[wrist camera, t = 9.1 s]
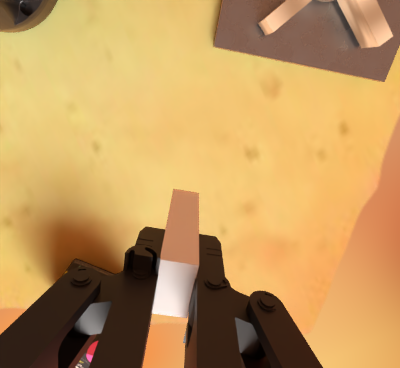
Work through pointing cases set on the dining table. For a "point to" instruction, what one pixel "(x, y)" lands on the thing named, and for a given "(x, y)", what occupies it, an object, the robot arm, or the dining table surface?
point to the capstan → (354, 12)
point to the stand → (308, 37)
